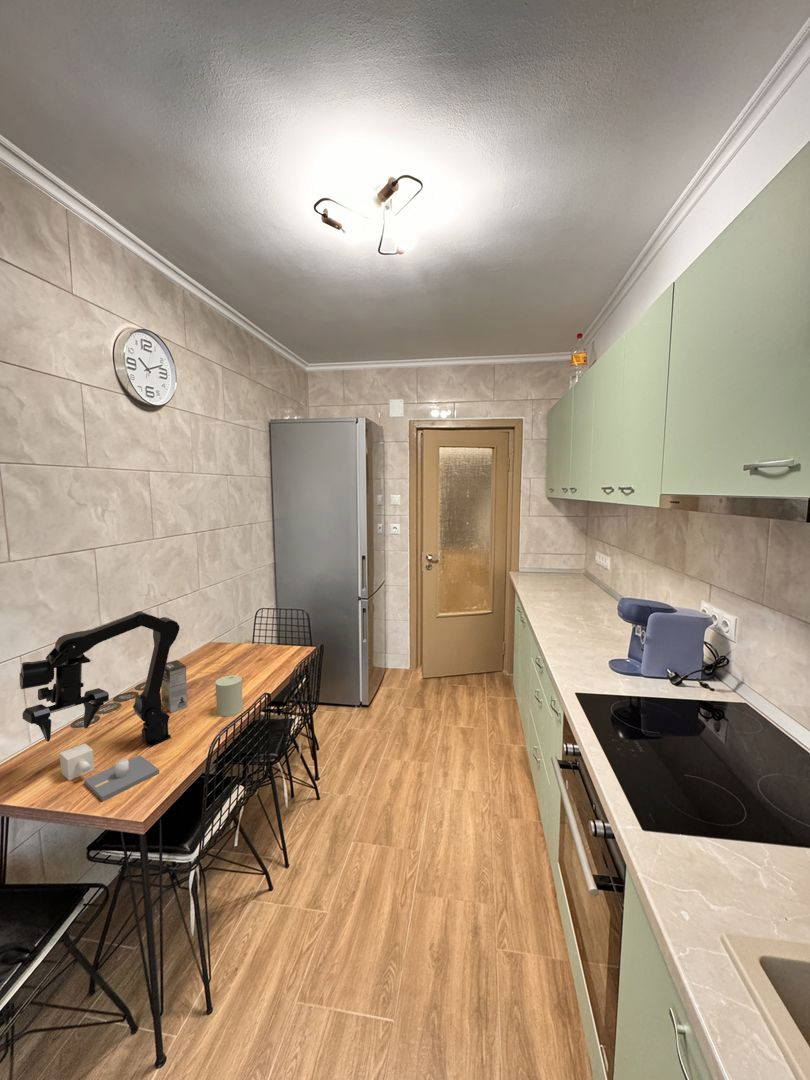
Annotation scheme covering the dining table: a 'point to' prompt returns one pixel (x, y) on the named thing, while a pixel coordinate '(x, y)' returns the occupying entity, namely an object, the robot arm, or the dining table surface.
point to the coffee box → (174, 686)
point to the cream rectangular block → (76, 761)
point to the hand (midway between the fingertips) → (67, 734)
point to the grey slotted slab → (121, 777)
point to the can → (229, 695)
